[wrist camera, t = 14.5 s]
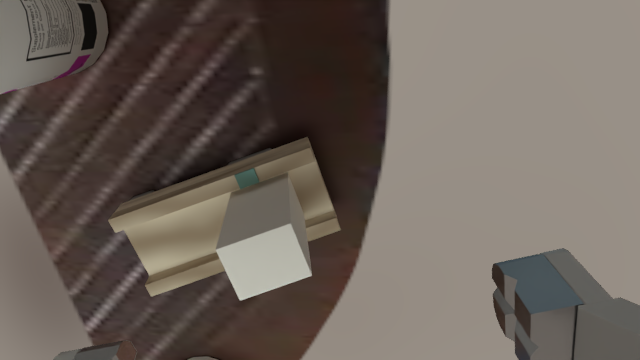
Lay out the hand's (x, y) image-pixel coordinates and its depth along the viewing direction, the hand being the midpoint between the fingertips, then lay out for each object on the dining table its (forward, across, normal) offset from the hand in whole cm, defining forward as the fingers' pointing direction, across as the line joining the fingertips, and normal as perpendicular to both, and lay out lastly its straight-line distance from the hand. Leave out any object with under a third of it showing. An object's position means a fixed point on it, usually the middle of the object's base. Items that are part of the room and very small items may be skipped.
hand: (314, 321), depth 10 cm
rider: (+26, +5, +12) cm, 29 cm away
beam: (+30, +8, +12) cm, 34 cm away
